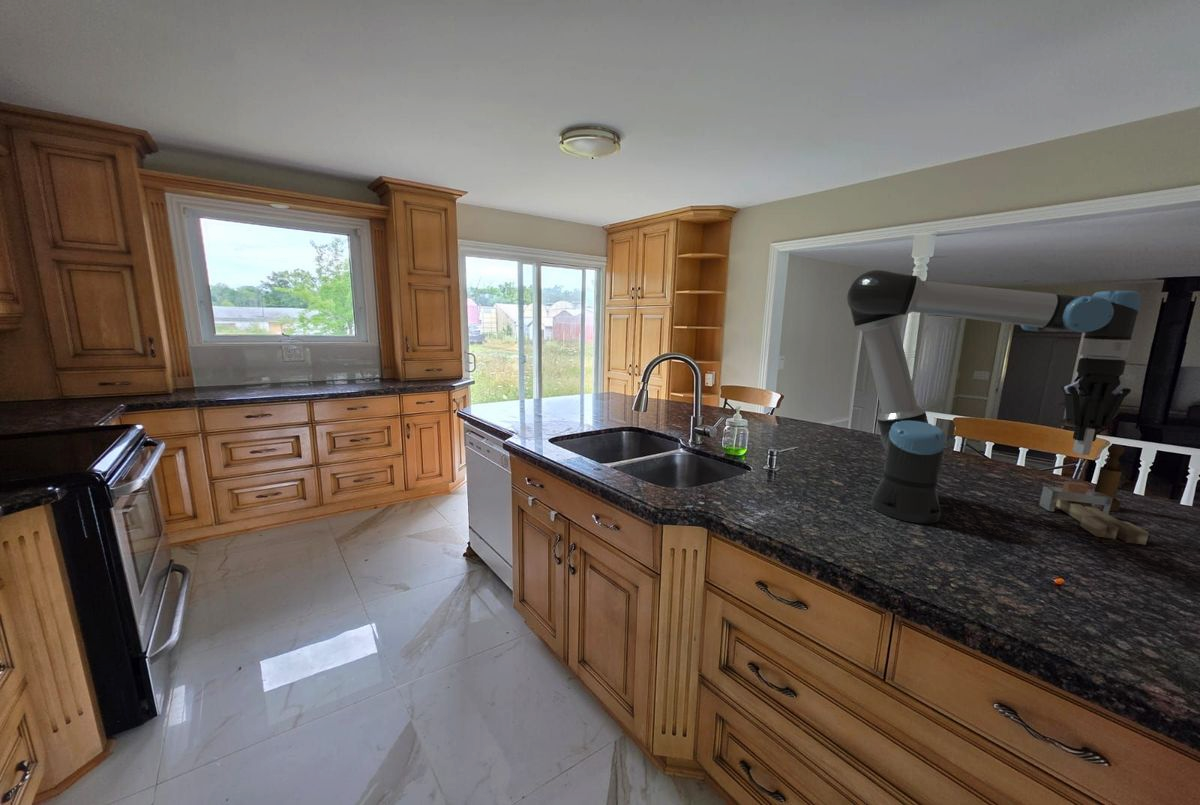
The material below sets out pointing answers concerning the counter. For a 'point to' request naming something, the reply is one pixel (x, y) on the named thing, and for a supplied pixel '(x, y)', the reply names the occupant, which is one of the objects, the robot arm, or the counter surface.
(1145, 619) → the counter surface
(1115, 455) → the brown wooden post
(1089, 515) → the tongs hinged arm
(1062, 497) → the lock collar
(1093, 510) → the tongs fixed arm
